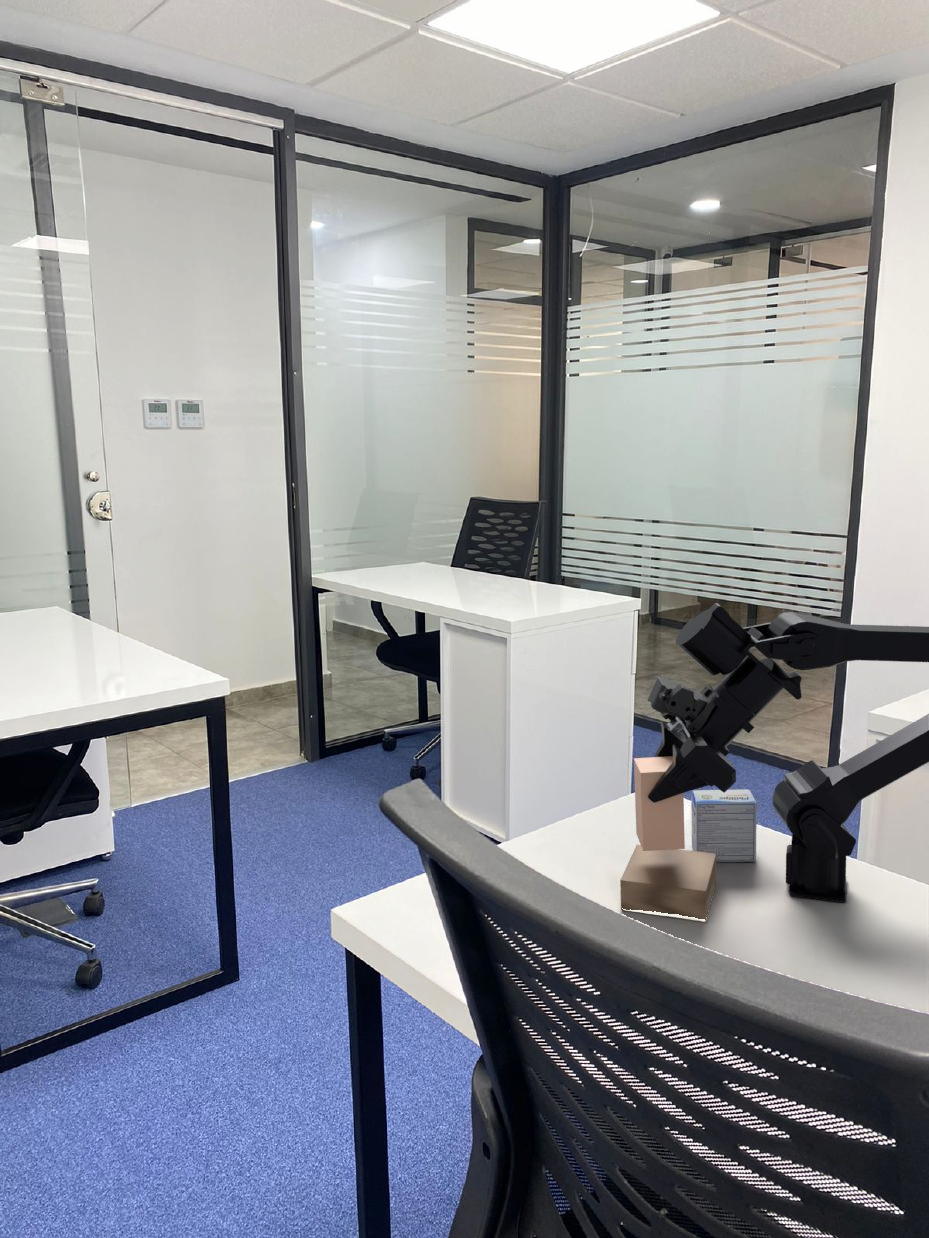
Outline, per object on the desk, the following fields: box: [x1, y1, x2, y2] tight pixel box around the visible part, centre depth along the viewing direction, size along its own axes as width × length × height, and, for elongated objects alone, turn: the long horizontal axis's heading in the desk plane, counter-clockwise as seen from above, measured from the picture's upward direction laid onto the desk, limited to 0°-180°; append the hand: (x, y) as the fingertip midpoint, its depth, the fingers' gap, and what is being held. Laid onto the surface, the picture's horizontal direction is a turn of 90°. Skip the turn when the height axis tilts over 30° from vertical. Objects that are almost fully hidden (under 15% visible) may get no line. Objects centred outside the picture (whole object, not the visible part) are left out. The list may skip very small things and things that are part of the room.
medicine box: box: [690, 789, 758, 863], centre depth 123 cm, size 8×4×9 cm, turn 84°
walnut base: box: [620, 844, 717, 921], centre depth 114 cm, size 10×10×4 cm
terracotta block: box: [633, 756, 686, 851], centre depth 113 cm, size 5×5×10 cm
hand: (647, 791), depth 113 cm, fingers closed on terracotta block, 5 cm apart
